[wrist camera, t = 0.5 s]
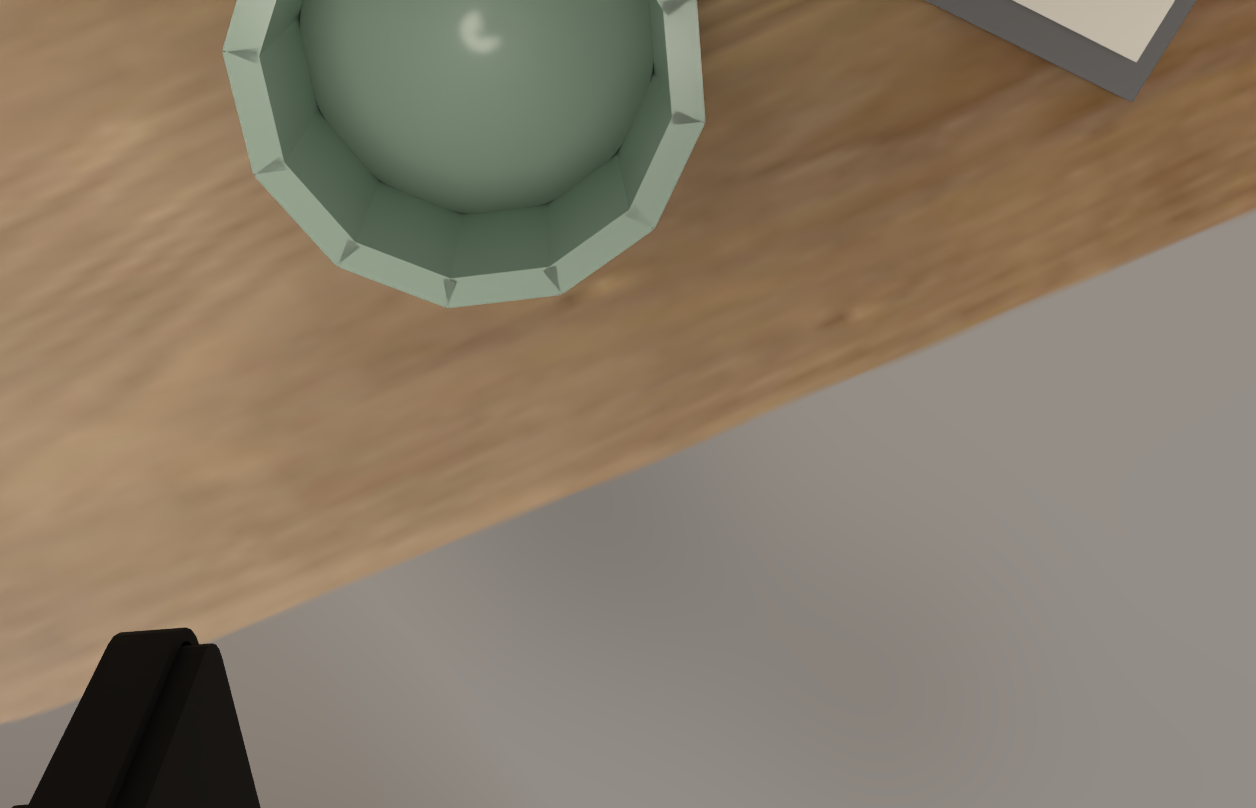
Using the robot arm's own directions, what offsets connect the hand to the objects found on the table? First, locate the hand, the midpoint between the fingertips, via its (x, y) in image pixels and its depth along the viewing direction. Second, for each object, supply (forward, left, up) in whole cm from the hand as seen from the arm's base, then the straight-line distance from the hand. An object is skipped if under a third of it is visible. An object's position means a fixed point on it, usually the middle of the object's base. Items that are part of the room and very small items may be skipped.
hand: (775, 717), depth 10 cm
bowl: (+1, -4, -27) cm, 27 cm away
